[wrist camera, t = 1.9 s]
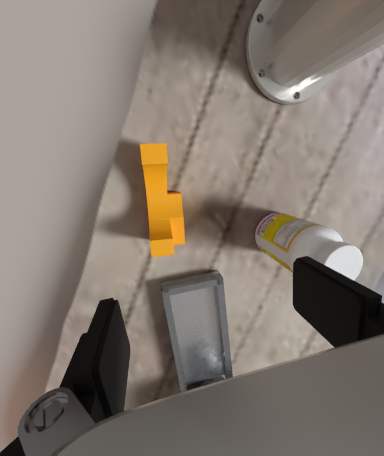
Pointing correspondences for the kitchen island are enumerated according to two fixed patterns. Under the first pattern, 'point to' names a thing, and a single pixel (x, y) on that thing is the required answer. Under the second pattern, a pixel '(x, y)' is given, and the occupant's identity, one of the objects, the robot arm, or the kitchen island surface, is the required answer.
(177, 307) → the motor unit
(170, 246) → the pipe clamp
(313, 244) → the supplement bottle
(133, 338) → the kitchen island surface
